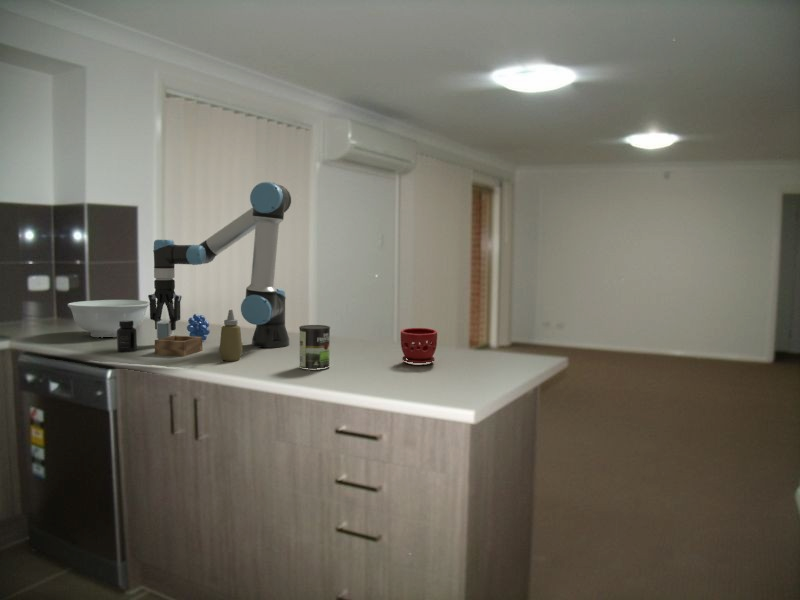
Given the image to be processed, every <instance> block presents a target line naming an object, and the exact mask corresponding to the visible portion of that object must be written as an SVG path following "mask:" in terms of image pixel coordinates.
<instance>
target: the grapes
mask: <svg viewBox="0 0 800 600" xmlns="http://www.w3.org/2000/svg"><path fill="white" fill-rule="evenodd" d="M209 327H210V322H209V321H208V320H206V317H205V315H203V314H200V315H199V313H194V314H193V315H192V317H188V325H187V326H186V330H187V331H188V332H189V334H188V335H189V336H192V337H202V342H204V341H206V340H207V336H208V335H210V333H211V332H210V329H209Z"/></svg>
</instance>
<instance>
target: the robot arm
mask: <svg viewBox="0 0 800 600" xmlns="http://www.w3.org/2000/svg"><path fill="white" fill-rule="evenodd" d="M249 195H250V196H249V201H250V204H251V208H250V209H248V210H247V211H245V212H243V214H241V215H239V216H238V217H237V218H236V219H234V220H232V221H230V222H229V223H228V224H226V225H225V226H223V228H221V229H220V230H218V231H217V232H215V233H213V234H212V235H211V236H210V237H208V238H207V239H206V240H204V241H203V242H201V243H200V244H175V241H174V240H173V239H155V240H154V242H153V251H152V252H153V278H154V279H155V280H154V283H153V284H154V286H153V287H154V289H155V290H154V293H151V294H148V295H147V297H148V300H149V301H148V302H149V303H150V304H149V319H150V320H152V321H154V328H155V330H156V339H158V323H163V320H162V316H163V315H162V314H163V309H164V305H165V306H166V309H167V313H168V317H169V321H168V337H170V336H174V335H175V330H177V328H176V327H177V326H176V325H177V324H176V323H177V322H178V321H181V301H182V295H178V294H176V291H175V289H176V288H175V287H176V281H175V275H176V274H175V265H192V266H196V265H197V266H198V265H202V264H203V265H205V264H209V263H211V262H212V261H214V260H215V258H216V257H217V256H218V255H219V254H220V253H223V252H224V251H225V250H227V249H228V248H229V247H231V246H233V245H234V244H236V243H237V242H238V241H240V240H241V239H243V238H244V237H245V236H247V235H249V234H250V233H252V232H253V231H254V240H253V241H254V242H253V253H252V254H253V256H252V265H251V276H250V284H249V285H248V286H247V287H246V289H245V298H244V299H243V300H242V302H241V304H240V313H241V315H242V317H243V319H244V320H245V321H246V322H248V323H249V324H251V325H255V329H254V332H253V336H252V338H251V346H253V347H260V348H272V349H273V348H282V347H288V346H290V337H289V334H288V330H287V328H286V299H287V297H286V293H285V290H284V289H282V288H281V289H280V288H275V286H274V285H275V273H276V272H275V271H276V261H277V250H278V249H277V248H278V238H279V228H280V227H279V226H280V223H282V222H283V221H284V217H285V213H286V212H287V211H288V210H289V209H290V207H291V204H292V196H291V194H290V191H289V190H288V188H286V187H285V186H283V185H280V184H278V183H275V182H273V181H272V182H271V181H263V182H259V183H258V184H256V185H255V186H254V187H253V188H252V190H251V192H250V194H249ZM287 345H288V346H287Z"/></svg>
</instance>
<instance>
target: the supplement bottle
mask: <svg viewBox="0 0 800 600" xmlns="http://www.w3.org/2000/svg"><path fill="white" fill-rule="evenodd" d="M119 326H120V328H119V329H118V330H117V337H116V351H117V352H118V353H133V352H137V351H138V336H137V335H138V333H137V329H136V328H134V327H133V326H134V324H133V321H132V320H125V321H119Z"/></svg>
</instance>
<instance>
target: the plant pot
mask: <svg viewBox="0 0 800 600" xmlns="http://www.w3.org/2000/svg"><path fill="white" fill-rule="evenodd" d="M437 343H438V330H435V329H433V328H428V327H427V328H426V327H412V328H411V327H409V328H403V329H401V330H400V347H401V351H402V354H403V355H404V356H402V357H401V358H402V361H403V360H404V361H407V362H413V363H426V362H432V361H434V362H435V357H434V354H435V352H436V349H437V346H438V344H437ZM406 358H407V359H408V360H406ZM404 361H403V362H404Z"/></svg>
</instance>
